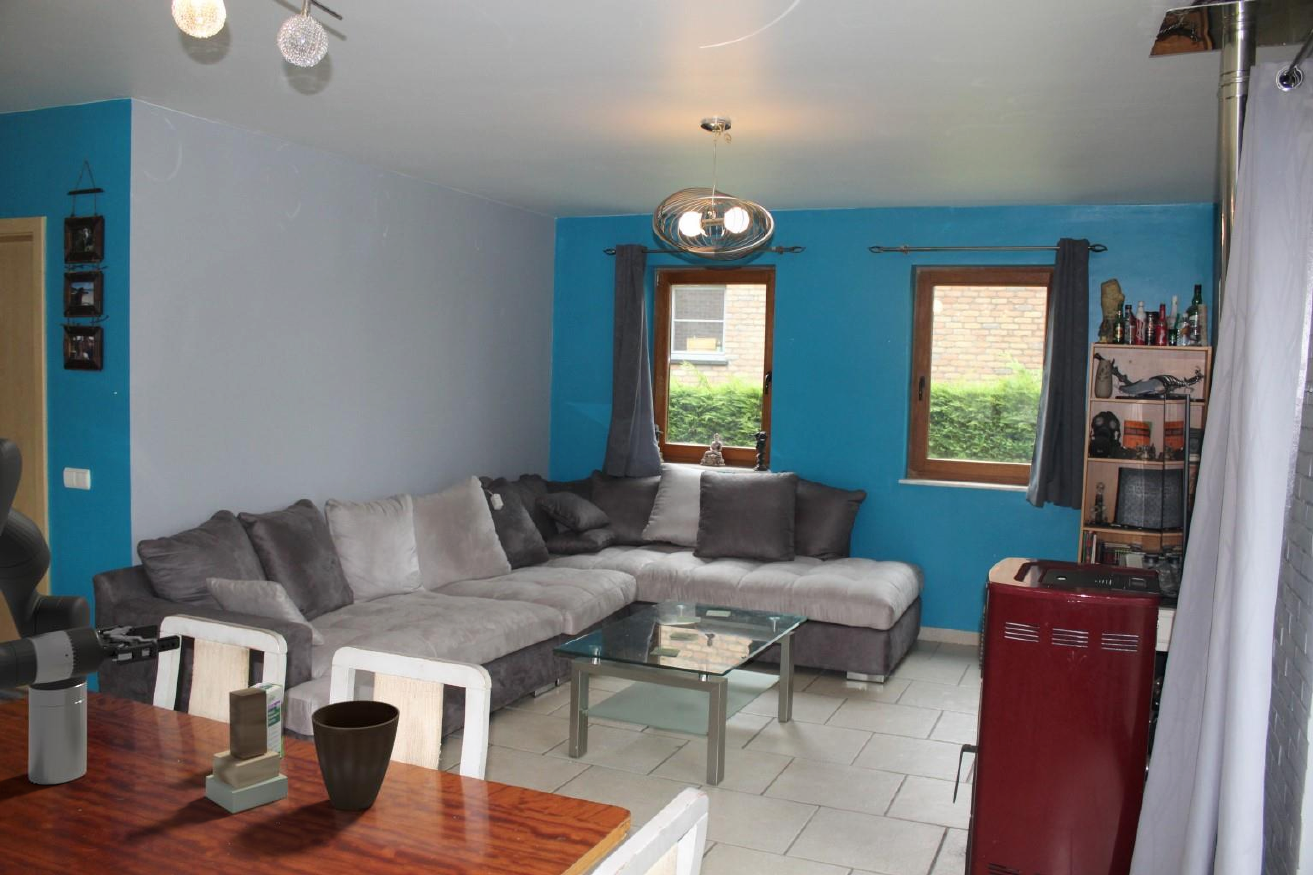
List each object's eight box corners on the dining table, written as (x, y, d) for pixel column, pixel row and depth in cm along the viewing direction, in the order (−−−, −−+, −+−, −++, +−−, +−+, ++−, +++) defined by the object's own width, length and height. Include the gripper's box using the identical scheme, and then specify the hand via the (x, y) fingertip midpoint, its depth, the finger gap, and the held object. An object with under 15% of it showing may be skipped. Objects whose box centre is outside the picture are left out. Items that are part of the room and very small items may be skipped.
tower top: (212, 776, 183) (213, 754, 182) (254, 764, 189) (254, 742, 189) (237, 788, 178) (237, 766, 178) (279, 775, 184) (279, 753, 184)
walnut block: (230, 754, 183) (229, 692, 183) (253, 747, 186) (253, 686, 186) (242, 759, 180) (242, 696, 180) (267, 752, 183) (266, 690, 183)
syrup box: (267, 767, 197) (268, 692, 196) (239, 764, 198) (240, 689, 197) (283, 757, 202) (284, 684, 201) (256, 753, 203) (257, 681, 203)
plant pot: (415, 795, 186) (417, 708, 185) (358, 827, 173) (360, 733, 172) (350, 779, 192) (352, 695, 191) (291, 808, 179) (292, 718, 178)
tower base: (205, 798, 183) (206, 776, 183) (259, 783, 190) (259, 761, 190) (232, 815, 176) (233, 792, 176) (287, 799, 184) (287, 777, 184)
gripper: (79, 641, 155) (187, 622, 167) (44, 621, 165) (149, 605, 177) (79, 690, 156) (187, 667, 168) (45, 667, 165) (149, 647, 177)
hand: (167, 635), depth 172 cm, fingers open, 8 cm apart
